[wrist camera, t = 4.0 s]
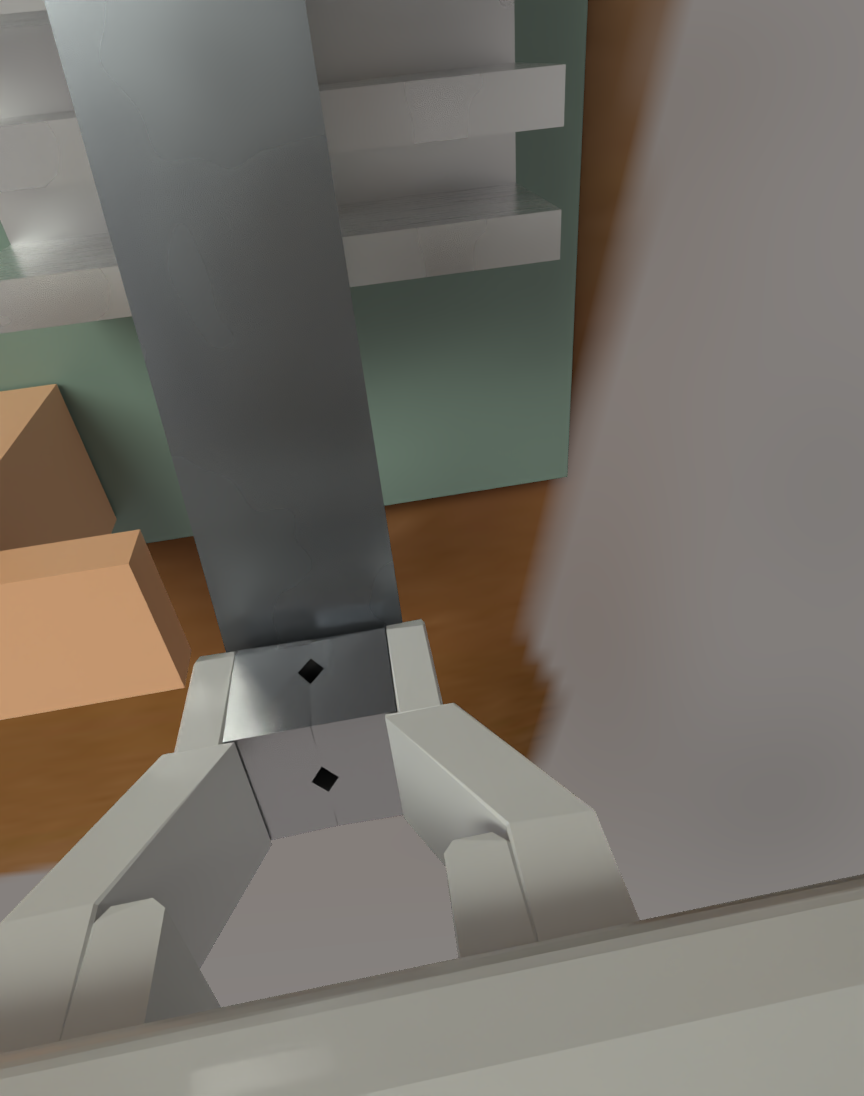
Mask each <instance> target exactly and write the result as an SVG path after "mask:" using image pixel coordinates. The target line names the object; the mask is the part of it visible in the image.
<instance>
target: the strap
mask: <svg viewBox="0 0 864 1096" xmlns="http://www.w3.org/2000/svg"><path fill="white" fill-rule="evenodd" d="M44 3H45V7H46V10H47V14H48V17H49V21H50V25H51V28H52V32H53V35H54V39H55V42H56V46H57V50H58V53H59V57H60V60H61V64H62V67H63V71H64V75H65V78H66V82H67V85H68V89H69V92H70V96H71V100H72V103H73V107H74V110H75V114H76V117H77V121H78V125H79V128H80V132H81V135H82V139H83V142H84V146H85V150H86V153H87V157H88V160H89V164H90V167H91V171H92V175H93V178H94V182H95V185H96V189H97V192H98V196H99V200H100V203H101V207H102V210H103V214H104V217H105V221H106V225H107V228H108V232H109V235H110V239H111V242H112V246H113V250H114V253H115V257H116V260H117V264H118V267H119V271H120V275H121V278H122V282H123V285H124V289H125V292H126V296H127V300H128V303H129V307H130V310H131V314H132V318H133V321H134V325H135V328H136V332H137V335H138V339H139V343H140V346H141V350H142V353H143V357H144V360H145V364H146V368H147V371H148V375H149V378H150V382H151V385H152V389H153V393H154V396H155V400H156V403H157V407H158V410H159V414H160V418H161V421H162V425H163V428H164V432H165V435H166V439H167V443H168V446H169V450H170V453H171V457H172V460H173V464H174V468H175V471H176V475H177V478H178V482H179V485H180V489H181V493H182V496H183V500H184V503H185V507H186V510H187V514H188V518H189V521H190V525H191V528H192V532H193V535H194V539H195V543H196V546H197V550H198V553H199V557H200V560H201V564H202V568H203V571H204V575H205V578H206V582H207V585H208V589H209V593H210V596H211V600H212V603H213V607H214V610H215V614H216V618H217V621H218V625H219V628H220V632H221V636H222V639H223V643H224V646H225V650H226V653H227V652H233V651H236V652H238V651H239V650H244V649H251V648H258V647H264V646H271V645H278V644H285V643H292V642H299V641H305V640H312V639H313V640H314V639H320V638H326V637H331V636H337V635H343V634H349V633H354V632H360V631H366V630H372V629H377V628H383V627H385V630H386V626H388V625H393V624H399V623H402V616H401V610H400V604H399V597H398V591H397V584H396V578H395V572H394V565H393V559H392V553H391V546H390V540H389V533H388V527H387V521H386V514H385V508H384V501H383V495H382V489H381V482H380V476H379V470H378V463H377V457H376V450H375V444H374V438H373V431H372V425H371V419H370V412H369V406H368V399H367V393H366V387H365V380H364V374H363V368H362V361H361V355H360V348H359V342H358V336H357V329H356V323H355V316H354V310H353V304H352V297H351V291H350V285H349V278H348V272H347V265H346V259H345V253H344V246H343V240H342V234H341V227H340V221H339V214H338V208H337V202H336V195H335V189H334V183H333V176H332V170H331V163H330V157H329V151H328V144H327V138H326V131H325V125H324V119H323V112H322V106H321V100H320V93H319V87H318V80H317V74H316V68H315V61H314V55H313V49H312V42H311V36H310V29H309V23H308V17H307V10H306V4H305V0H44ZM386 635H387V632H386ZM387 641H388V639H387Z"/></svg>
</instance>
